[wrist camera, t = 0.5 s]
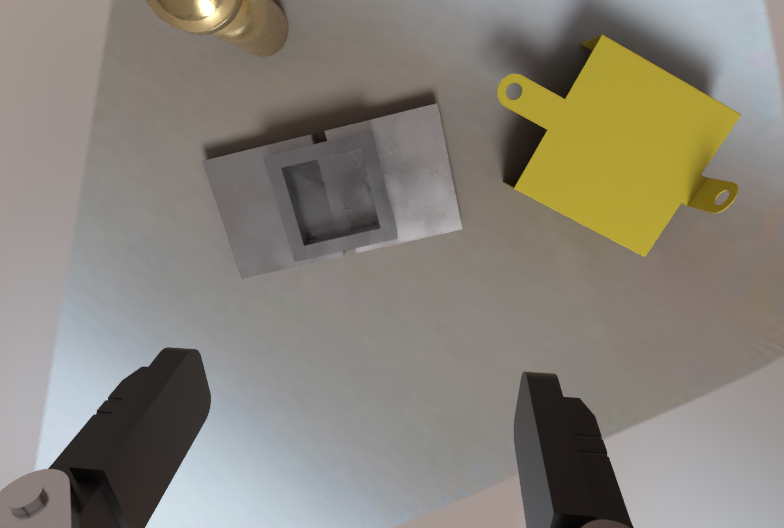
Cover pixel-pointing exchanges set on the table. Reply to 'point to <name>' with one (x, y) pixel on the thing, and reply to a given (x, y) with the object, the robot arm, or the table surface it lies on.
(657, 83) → the bracket
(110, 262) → the table surface
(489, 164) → the table surface
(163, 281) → the table surface
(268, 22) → the hinge pin
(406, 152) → the grey socket base plate
